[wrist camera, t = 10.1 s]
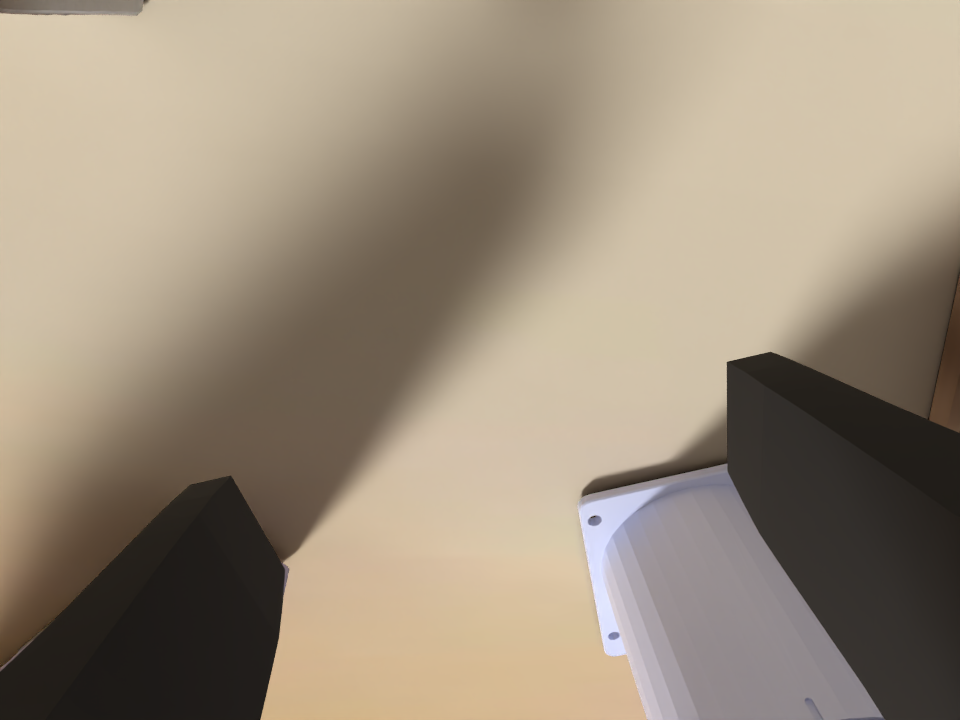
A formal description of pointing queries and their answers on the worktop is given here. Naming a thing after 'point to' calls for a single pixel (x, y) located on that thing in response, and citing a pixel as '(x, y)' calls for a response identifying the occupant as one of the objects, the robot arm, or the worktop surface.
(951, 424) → the brown tray
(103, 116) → the worktop surface
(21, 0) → the coffee box
